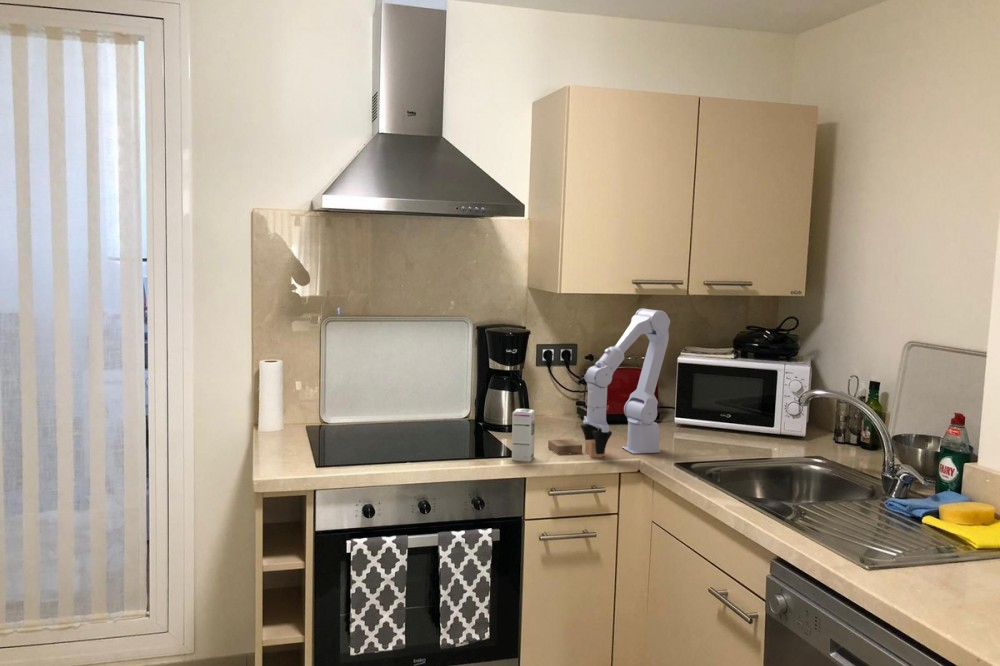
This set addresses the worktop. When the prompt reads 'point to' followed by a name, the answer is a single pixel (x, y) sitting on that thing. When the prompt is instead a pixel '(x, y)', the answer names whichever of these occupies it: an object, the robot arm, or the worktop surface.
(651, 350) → the robot arm
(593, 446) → the cube
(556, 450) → the walnut block
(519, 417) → the syrup box
